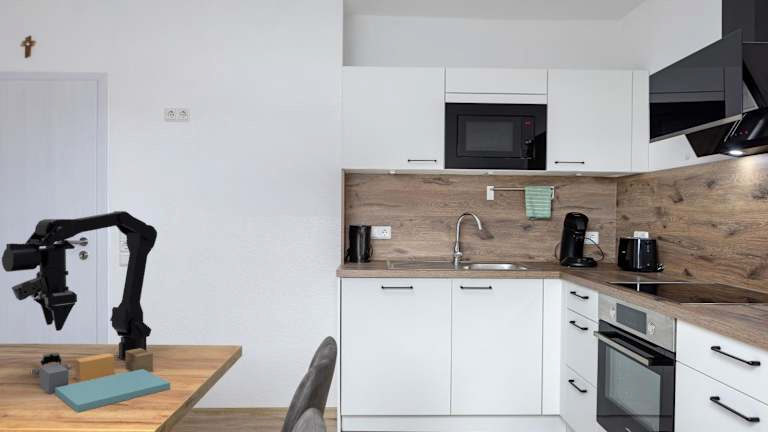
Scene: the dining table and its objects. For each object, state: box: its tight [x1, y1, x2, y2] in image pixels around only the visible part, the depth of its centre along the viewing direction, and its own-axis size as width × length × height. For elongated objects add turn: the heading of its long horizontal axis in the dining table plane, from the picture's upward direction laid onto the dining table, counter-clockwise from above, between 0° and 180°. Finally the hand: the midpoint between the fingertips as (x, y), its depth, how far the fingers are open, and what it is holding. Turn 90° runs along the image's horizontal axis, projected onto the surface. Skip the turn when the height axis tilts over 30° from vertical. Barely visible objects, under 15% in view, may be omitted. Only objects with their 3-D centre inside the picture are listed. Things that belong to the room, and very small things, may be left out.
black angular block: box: [31, 352, 72, 376], centre depth 135 cm, size 12×7×5 cm, turn 128°
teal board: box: [54, 369, 171, 413], centre depth 118 cm, size 20×16×2 cm
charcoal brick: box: [38, 362, 70, 395], centre depth 120 cm, size 8×4×5 cm, turn 48°
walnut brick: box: [124, 348, 154, 373], centre depth 135 cm, size 8×4×5 cm, turn 48°
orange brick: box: [74, 352, 115, 382], centre depth 130 cm, size 8×4×5 cm, turn 138°
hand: (53, 327), depth 128 cm, fingers open, 9 cm apart
